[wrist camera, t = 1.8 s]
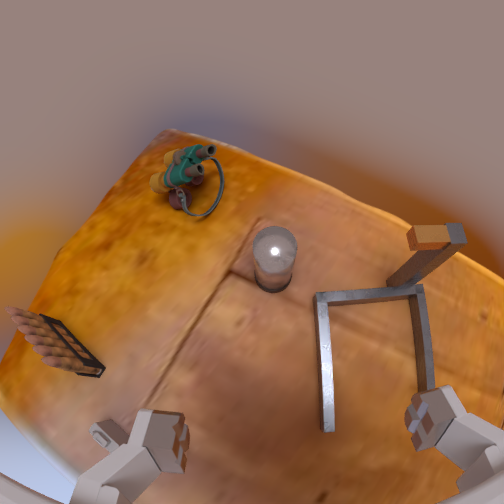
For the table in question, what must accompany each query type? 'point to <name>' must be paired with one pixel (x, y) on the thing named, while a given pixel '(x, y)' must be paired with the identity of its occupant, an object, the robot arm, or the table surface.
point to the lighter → (108, 435)
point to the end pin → (274, 258)
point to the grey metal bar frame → (398, 288)
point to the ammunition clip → (56, 343)
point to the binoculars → (185, 175)
